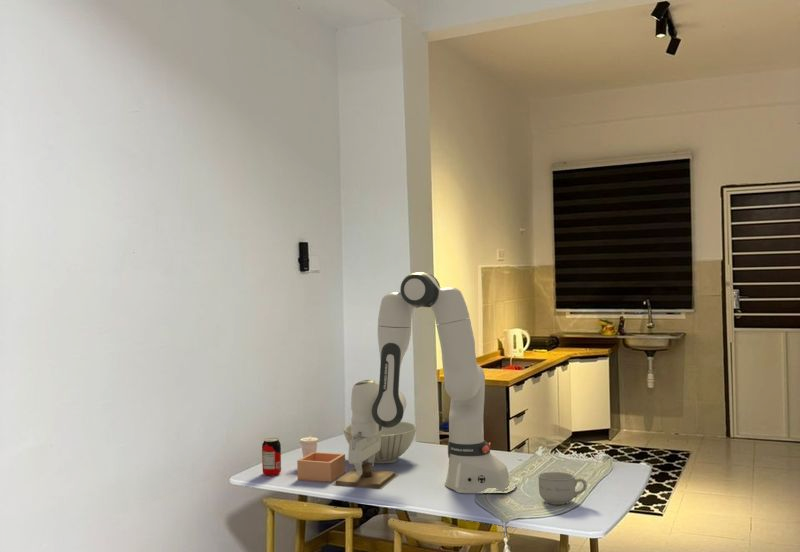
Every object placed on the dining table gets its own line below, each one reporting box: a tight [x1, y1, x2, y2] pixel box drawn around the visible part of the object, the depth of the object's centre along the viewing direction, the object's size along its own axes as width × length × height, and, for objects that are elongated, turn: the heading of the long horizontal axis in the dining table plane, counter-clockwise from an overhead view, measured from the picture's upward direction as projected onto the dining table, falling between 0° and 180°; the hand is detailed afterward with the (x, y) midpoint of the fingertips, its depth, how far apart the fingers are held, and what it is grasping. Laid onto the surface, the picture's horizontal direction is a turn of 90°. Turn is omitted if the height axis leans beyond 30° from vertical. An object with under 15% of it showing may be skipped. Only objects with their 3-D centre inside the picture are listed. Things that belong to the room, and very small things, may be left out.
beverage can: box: [261, 437, 282, 477], centre depth 246 cm, size 6×6×12 cm
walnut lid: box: [335, 462, 396, 488], centre depth 235 cm, size 15×15×5 cm
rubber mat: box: [332, 474, 399, 490], centre depth 235 cm, size 17×17×1 cm
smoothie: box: [299, 426, 319, 458], centre depth 256 cm, size 6×6×14 cm
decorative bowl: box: [343, 420, 417, 464], centre depth 262 cm, size 27×27×12 cm
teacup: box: [537, 471, 588, 505], centre depth 209 cm, size 14×11×8 cm
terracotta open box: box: [296, 451, 346, 484], centre depth 240 cm, size 12×12×7 cm
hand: (365, 471), depth 235 cm, fingers open, 8 cm apart
